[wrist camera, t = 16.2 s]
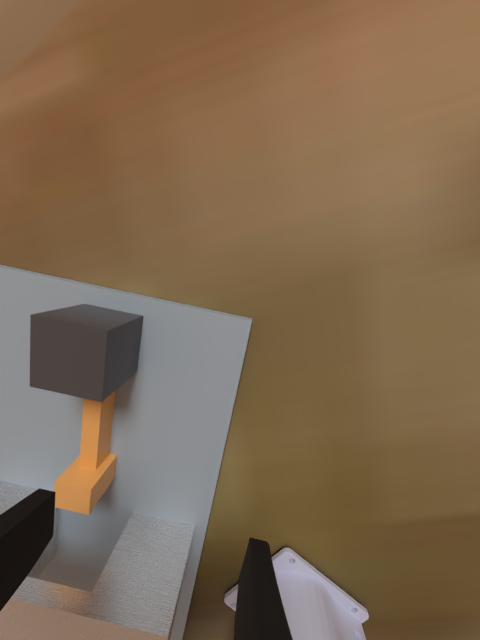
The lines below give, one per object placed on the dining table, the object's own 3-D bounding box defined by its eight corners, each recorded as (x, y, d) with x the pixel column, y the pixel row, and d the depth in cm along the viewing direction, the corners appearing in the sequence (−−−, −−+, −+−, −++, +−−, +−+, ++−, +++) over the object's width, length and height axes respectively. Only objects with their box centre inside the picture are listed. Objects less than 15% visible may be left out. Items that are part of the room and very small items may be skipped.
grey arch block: (183, 582, 21) (154, 706, 15) (0, 538, 21) (-99, 641, 15) (194, 525, 19) (167, 636, 14) (-1, 480, 20) (-109, 568, 14)
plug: (124, 479, 19) (90, 533, 15) (74, 468, 19) (27, 519, 15) (143, 315, 16) (107, 330, 12) (84, 303, 16) (30, 314, 12)
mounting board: (170, 691, 25) (167, 705, 24) (-2, 648, 25) (-10, 660, 24) (252, 318, 17) (252, 320, 16) (-5, 263, 17) (-17, 263, 16)
